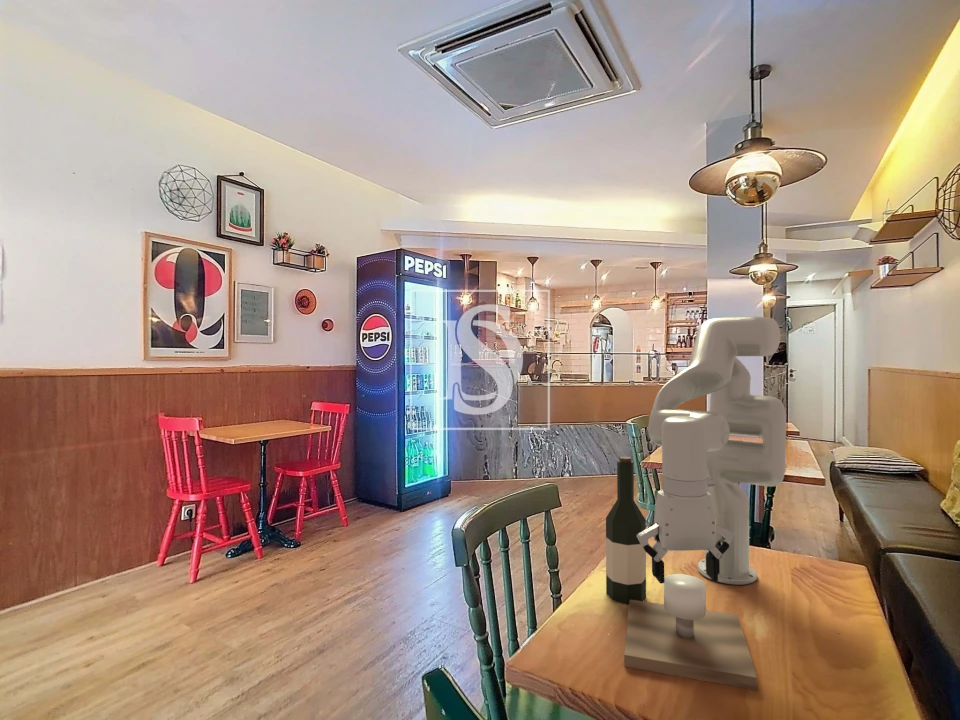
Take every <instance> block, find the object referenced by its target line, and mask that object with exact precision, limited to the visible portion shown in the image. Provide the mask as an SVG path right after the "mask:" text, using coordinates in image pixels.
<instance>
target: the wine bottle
mask: <svg viewBox="0 0 960 720" xmlns="http://www.w3.org/2000/svg"><path fill="white" fill-rule="evenodd" d="M616 465H617V466H616V467H617V468H616V470H617V471H616V474H617V475H616V477H617V478H616V483H617V484H616V487H617V490H616V491H617V495H616V496H617V500H616V501H615V502H614V504H613V506H612V507H611V509H610V511H609V512H608V514H607V516H606V517H605V559H606V560H605V561H606V562H605V579H606V580H605V586H606V589H605V591H606V592H605V593H606V595H607V596H608V597H609V598H610V599H611V600H612V601H613V602H617V603H621V604H625V605H628V606H629V600H637V601H645V599H646V597H647V552H646V551H645V550H644V549H643V548H642V546H641V544H640V542H639V540H638V538H637V534H638V533H640V532H642V531H644V530H646V529H647V526H646V524H647V519H646V518H645V517H644V514H643V512H642V511H641V509H640V508H639V506H638V505H637V503H636V502H635V499H634V496H635V495H634V490H635V488H634V487H635V485H634V483H635V482H634V481H635V478H634V474H635V472H634V470H635V468H634V467H635V465H634V461H633V460H632V457H630V456H620V457H619V458H618V460H617V464H616Z"/></svg>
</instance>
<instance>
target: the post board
mask: <svg viewBox="0 0 960 720" xmlns="http://www.w3.org/2000/svg"><path fill="white" fill-rule="evenodd" d="M626 623H627V624H626V632H625V633H626V634H625V643H624V654H623V655H624V657H623V658H624V659H623V662H624V663H623V665H624V666H623V667H626V668H629V669H630V668H632V669H637V670H641V671H642V670H643V671H646V672H647V671H648V672H653V673H660V674H665V675H669V676H674V677H681V678H685V679H686V678H687V679H693V680H696V681H697V680H698V681H704V682H709V683H714V684H720V685H726V686H732V687H738V688H743V689H747V690H748V689H749V690H754V691H757V690H758V677H757V672H756V669H755V667H754V663H753V661H752V657H751V654H750V650H749V647H748V644H747V641H746V638H745V635H744V631H743V629H742V628H743V627H742V624H741V621H740V618H739V615H738V614H736V613H731V612H730V613H729V612H722V611H714V610H708V609H706V615H705V616H704V617H703V618H701V619H698V620H686V619H681V618H677V617H675V616H672V615H671V614H669V613H668V612H667V611H666V610H665V609H664V603H657V602H651V601H650V602H649V601H645V600H643V601H637V600H629V604H628V613H627V622H626Z"/></svg>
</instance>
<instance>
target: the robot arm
mask: <svg viewBox="0 0 960 720" xmlns="http://www.w3.org/2000/svg"><path fill="white" fill-rule="evenodd" d="M780 343H781V329H780V326H779V324H778V322H777V321H776V320H775V318H772V317H765V316H733V317H731V316H729V317H727V316H726V317H715V318H710V319H708V320H706V321H703V323H701V324H700V326H699V327H698V329H697V332H696V335H695V339H694V343H693V347H692V351H691V355H690V358H689V361H688V366H687V368H685V369H683V370H682V371H680V372H679V373H677V374H676V375H675V376H673V377H672V378H671V379H669V381H667V382H666V383H665V384H664V385H663V386H662V387H660V389H659V391H658V392H657V393H656V396H655V399H654V401H653V405H652V408H651V412H650V415H649V418H648V419H649V420H648V428H647V429H648V436H649V438H650V440H651V442H653V443H654V444H655V445H657V446H660V447H661V459H662V460H661V470H662V473H661V474H662V476H661V478H662V489H660V490H658V491H657V494H656V498H655V506H654V513H653V525H652V526H649V527H648V528H647V527H646V530H644V531H642V532H640V533H638V534H637V538H638V540H639V542H640V544H641V546H642V548H643V549H644V550H645V551H646V554H648V555H649V556H650V557H651V572H652V576H653V577H654V578H655V579H656V580H657V581H658V583H659V584H664V578H665V562H664V561H663V558H664V557H665V556H666V554H667V553H668V552H685V551H704V558H703V559H701V560H700V561H699V562H698V563H697V571H698V572H699V573H700V574H701V575H702V576H703V577H706V578H707V579H709V580H712V581H714V582H717V583H722V584H728V585H737V586H739V585H740V586H742V585H749V584H752V583H754V582H756V580H757V577H758V574H757V571H756V570H755V569H754V568H753V567H752V566H750V502H749V499H748V496H747V494H746V493H745V491H744V490H743V488H742V487H741V486H740V484H747V485H756V486H764V487H778V486H779V485H781V484H782V483H783V481H784V479H785V475H786V472H785V471H786V453H787V452H786V449H787V448H786V445H787V444H786V443H787V441H786V439H787V415H786V414H787V413H786V409H785V408H786V407H785V405H784V403H783V402H782V400H781V399H779V398H778V397H775V396H770V395H753V394H751V374H750V372H749V370H748V369H747V367H746V366H745V365H744V364H743V362H742V361H741V360H739V359H738V357H769V356H772V355H774V354H775V353H776V352H777V350H778V348H779V347H780V346H779V345H780ZM709 394H710V397H709V399H710V400H709V410H695V409H679V408H677V407H679V406H680V405H682V404H684V403H685V402H687V401H691V400H693V399H697V398H700V397H704V396H706V395H709ZM731 435H736V436H746V437H758V438H760V439H761V440H762V442H754V441H744V440H736V439H730V436H731ZM652 538H653V540H654V541H655V543H654V544H653V545H652V546H651V545H650V544H649V539H652Z"/></svg>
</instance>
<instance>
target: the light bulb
mask: <svg viewBox="0 0 960 720" xmlns="http://www.w3.org/2000/svg"><path fill="white" fill-rule="evenodd" d="M706 585H707V584H706V582H704V581H703V580H702V579H701V578H699V577H697V576H694V575H690V574H683V573H672V574H668V575H666V576H664V583H663V604H664V609H665V610H666V611H667V612H668V613H669V614H671V615H672V616H675V617H677V618H681V619H686V620H698V619H701V618H703V617H704V616H705V615H706V610H707V608H706V607H707V605H706V604H707V598H706V596H707V595H706V594H707V593H706V592H707V590H706V589H707V588H706V587H707V586H706Z"/></svg>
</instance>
